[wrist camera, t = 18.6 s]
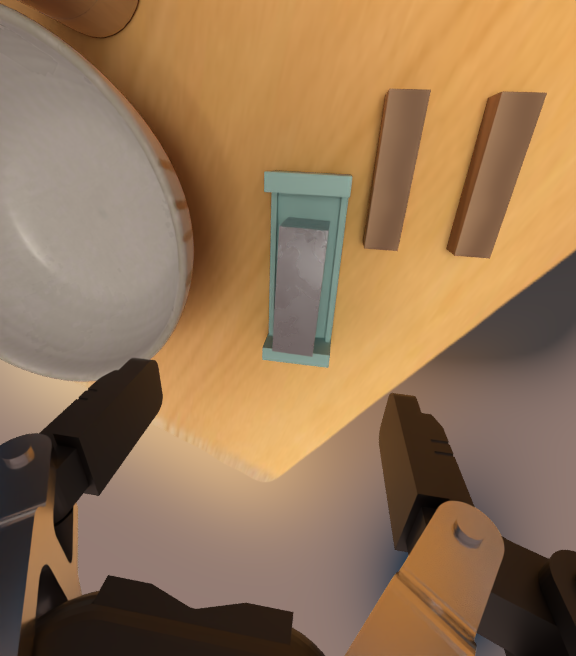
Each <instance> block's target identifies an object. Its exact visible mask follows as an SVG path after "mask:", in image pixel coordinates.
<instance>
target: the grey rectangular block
mask: <svg viewBox="0 0 576 656" xmlns="http://www.w3.org/2000/svg"><path fill="white" fill-rule="evenodd" d="M329 228H330V221H324V220H314V219H304V218H294V217H288V218H287V219H286V220H285V221H284V222H283V223H282V224H281V225H280V226H279V238H278V256H277V274H276V292H275V309H274V327H273V345H272V351H274V352H281V353H288V354H295V355H302V356H309V357H312V356H313V349H314V343H315V336H316V329H317V321H318V313H319V306H320V298H321V290H322V282H323V274H324V267H325V259H326V251H327V243H328V236H329Z"/></svg>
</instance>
